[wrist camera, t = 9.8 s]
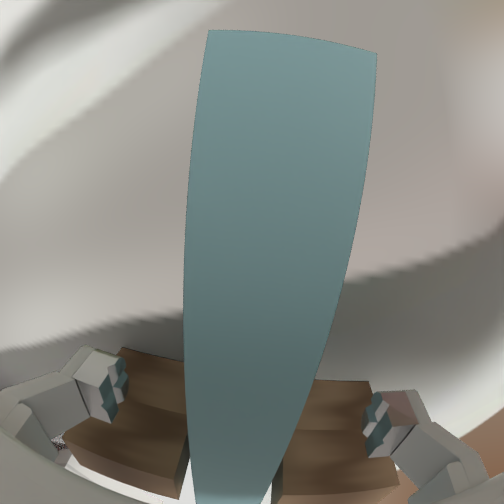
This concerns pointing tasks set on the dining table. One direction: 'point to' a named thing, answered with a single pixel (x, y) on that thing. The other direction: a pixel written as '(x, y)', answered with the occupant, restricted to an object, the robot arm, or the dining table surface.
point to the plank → (266, 243)
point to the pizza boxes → (102, 478)
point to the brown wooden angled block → (178, 453)
